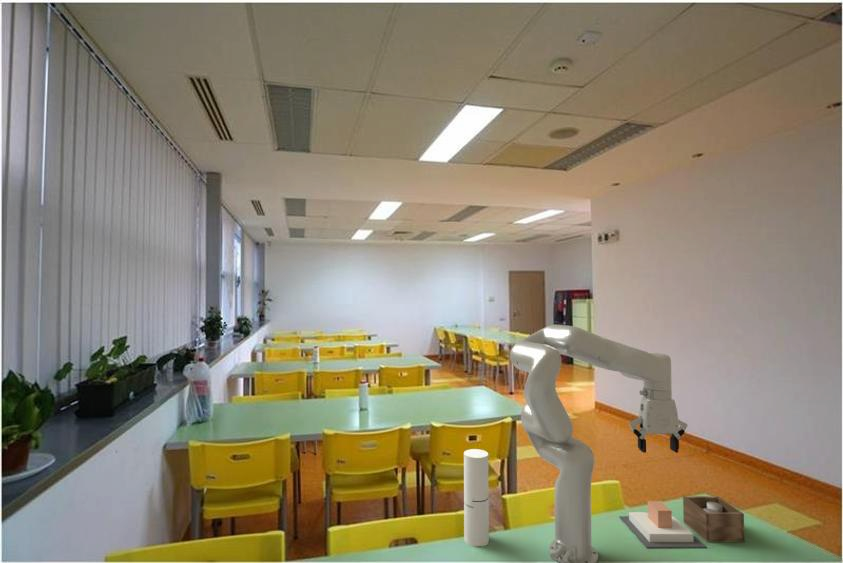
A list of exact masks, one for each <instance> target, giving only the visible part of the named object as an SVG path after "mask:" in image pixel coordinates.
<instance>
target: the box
mask: <svg viewBox="0 0 843 563" xmlns="http://www.w3.org/2000/svg"><path fill="white" fill-rule="evenodd" d="M682 501H683V504H682V506H683V507H682V508H683V512H682V513H683V524H685V525H686V526H688V528H690V529H691V530H692V531H693V532H695V534H697V535H698V536H699V537H700V538H701V539H703V541H705V542H706V543H726V542H727V543H733V542H734V543H742V542H743V543H744V542H745V515H744V513H743V512H742V511H740V510H739V509H737V508H736V507H735V506H733V505H731V503H728V502H727V501H725V500H724V499H723V498H721V497H720V496H716V495H714V496H713V495H712V496H711V495H710V496H707V495H706V496H705V495H704V496H701V495H700V496H699V495H698V496H695V495H694V496H684V495H683V497H682Z"/></svg>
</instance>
